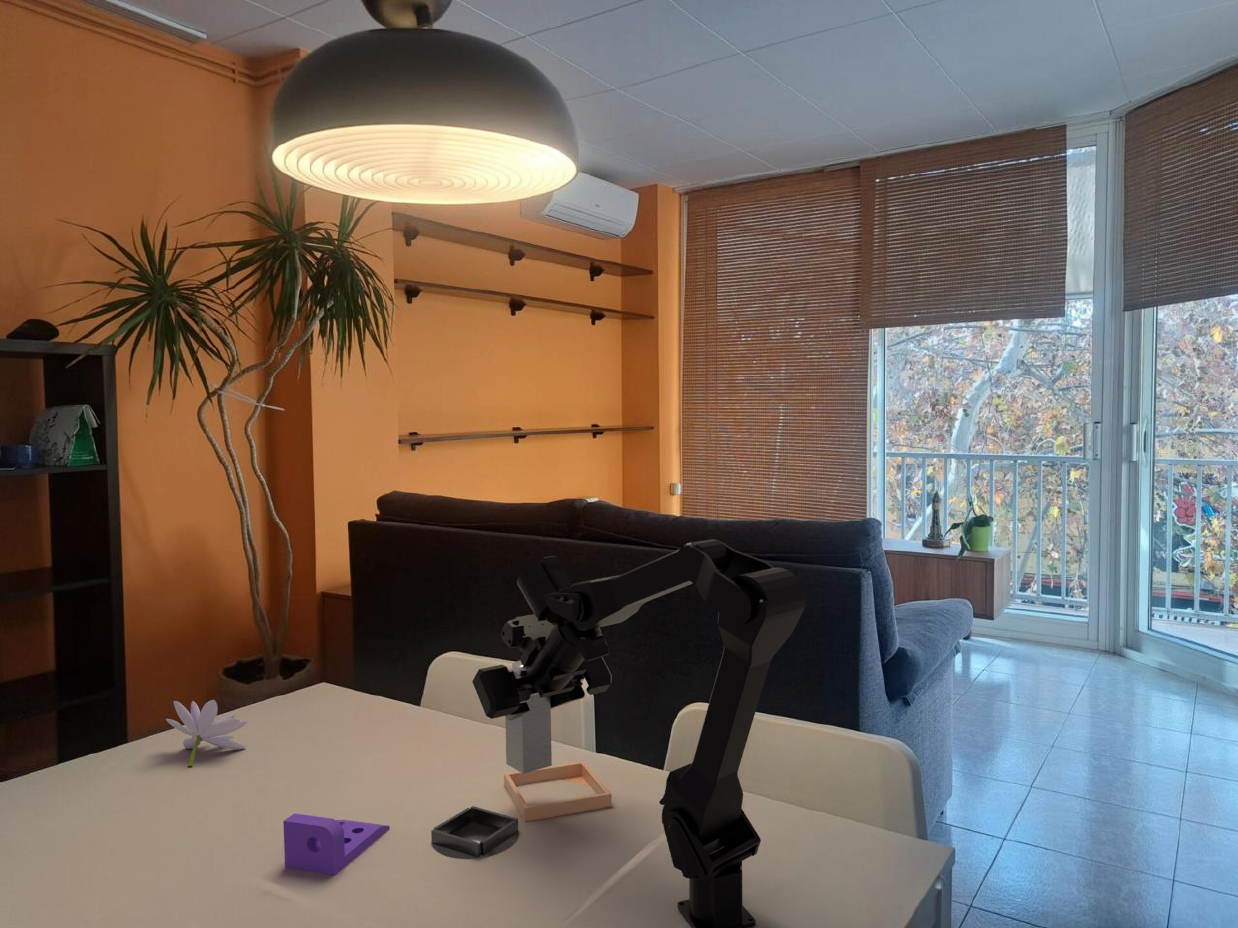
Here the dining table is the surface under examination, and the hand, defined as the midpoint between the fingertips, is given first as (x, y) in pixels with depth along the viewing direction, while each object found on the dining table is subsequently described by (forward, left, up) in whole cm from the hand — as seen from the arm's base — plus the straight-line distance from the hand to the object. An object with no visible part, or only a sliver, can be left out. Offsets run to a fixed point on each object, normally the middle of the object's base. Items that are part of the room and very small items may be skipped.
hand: (523, 713), depth 121 cm
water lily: (+38, +43, -14) cm, 59 cm away
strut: (-1, 0, -7) cm, 7 cm away
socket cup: (-8, +8, -13) cm, 17 cm away
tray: (0, -5, -13) cm, 14 cm away
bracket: (-4, +25, -14) cm, 29 cm away
